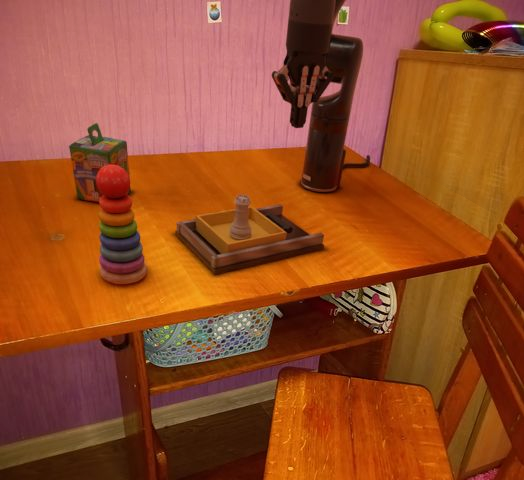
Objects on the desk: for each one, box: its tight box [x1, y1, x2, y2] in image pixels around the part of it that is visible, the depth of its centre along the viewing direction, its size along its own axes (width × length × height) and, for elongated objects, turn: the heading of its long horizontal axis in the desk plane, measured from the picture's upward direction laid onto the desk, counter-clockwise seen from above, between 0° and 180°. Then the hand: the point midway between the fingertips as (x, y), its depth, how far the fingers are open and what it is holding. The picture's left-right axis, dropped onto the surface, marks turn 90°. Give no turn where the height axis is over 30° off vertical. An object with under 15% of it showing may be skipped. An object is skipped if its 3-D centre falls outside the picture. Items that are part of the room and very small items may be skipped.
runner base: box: [175, 204, 325, 275], centre depth 98 cm, size 25×17×3 cm
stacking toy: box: [96, 165, 148, 285], centre depth 80 cm, size 8×8×19 cm
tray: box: [195, 205, 293, 254], centre depth 97 cm, size 16×13×3 cm
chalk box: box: [68, 122, 132, 203], centre depth 106 cm, size 9×9×15 cm
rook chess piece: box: [229, 193, 252, 240], centre depth 94 cm, size 4×4×8 cm
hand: (297, 126), depth 93 cm, fingers closed
